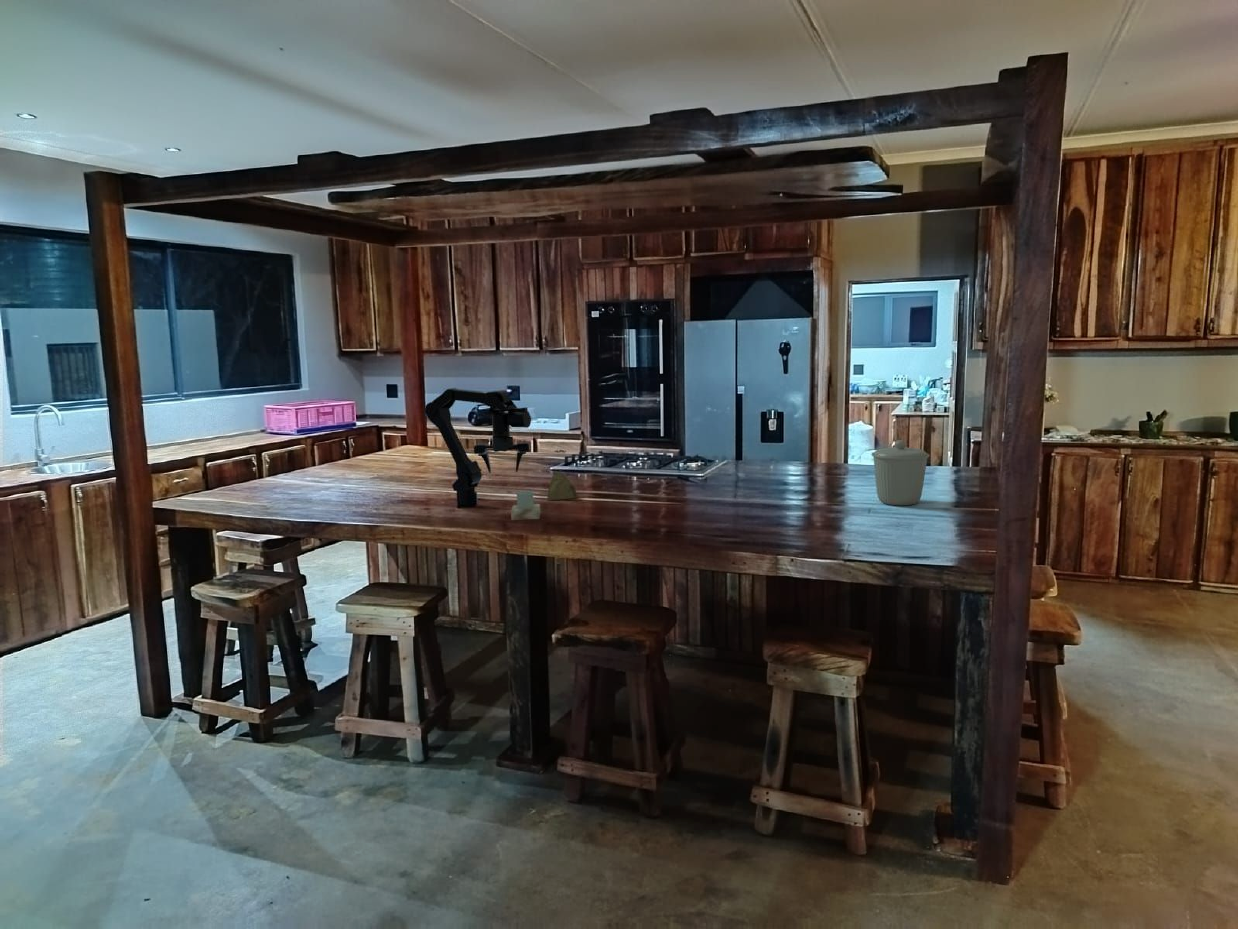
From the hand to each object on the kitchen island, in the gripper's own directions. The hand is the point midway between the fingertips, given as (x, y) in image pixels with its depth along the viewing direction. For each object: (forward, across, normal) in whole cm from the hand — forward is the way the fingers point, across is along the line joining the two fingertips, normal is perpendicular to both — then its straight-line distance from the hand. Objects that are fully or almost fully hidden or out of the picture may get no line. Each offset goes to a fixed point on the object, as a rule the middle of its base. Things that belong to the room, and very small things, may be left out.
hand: (503, 472), depth 279 cm
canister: (+13, +132, -19) cm, 134 cm away
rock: (+13, +20, +12) cm, 27 cm away
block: (+10, +8, -15) cm, 19 cm away
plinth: (+12, +8, -15) cm, 21 cm away
